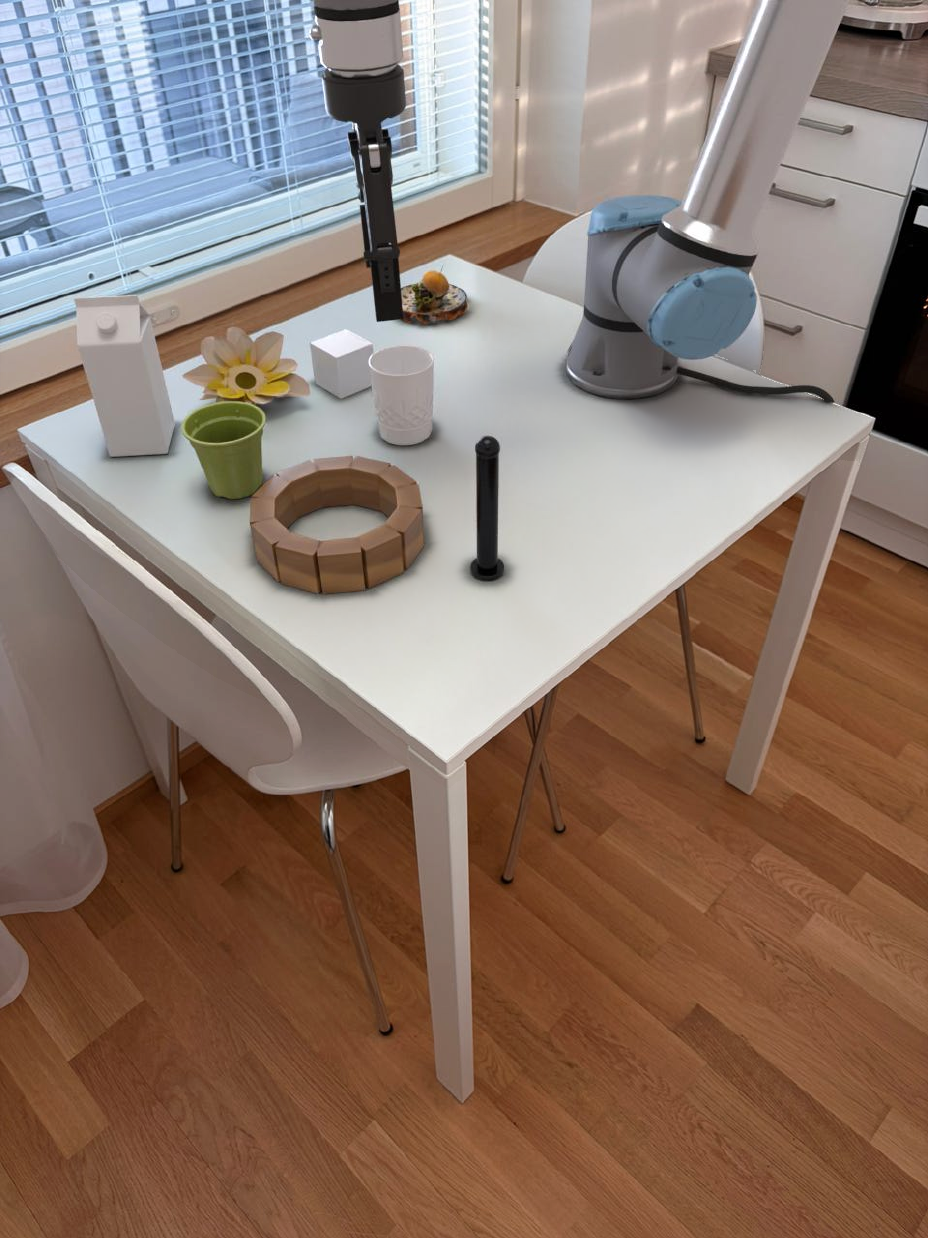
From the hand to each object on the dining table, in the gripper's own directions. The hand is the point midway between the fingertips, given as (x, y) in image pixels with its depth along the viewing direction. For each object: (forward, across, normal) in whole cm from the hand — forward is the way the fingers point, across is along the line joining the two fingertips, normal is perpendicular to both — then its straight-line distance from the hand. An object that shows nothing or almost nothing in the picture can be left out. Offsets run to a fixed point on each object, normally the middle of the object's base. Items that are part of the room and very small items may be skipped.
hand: (383, 291), depth 104 cm
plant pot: (+22, 0, -20) cm, 30 cm away
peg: (+23, +20, +7) cm, 31 cm away
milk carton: (+22, -12, -32) cm, 40 cm away
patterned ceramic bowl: (+23, -45, +9) cm, 51 cm away
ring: (+22, +13, -8) cm, 27 cm away
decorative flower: (+22, -19, -18) cm, 35 cm away
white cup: (+23, -9, +1) cm, 24 cm away
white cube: (+23, -23, -5) cm, 33 cm away
